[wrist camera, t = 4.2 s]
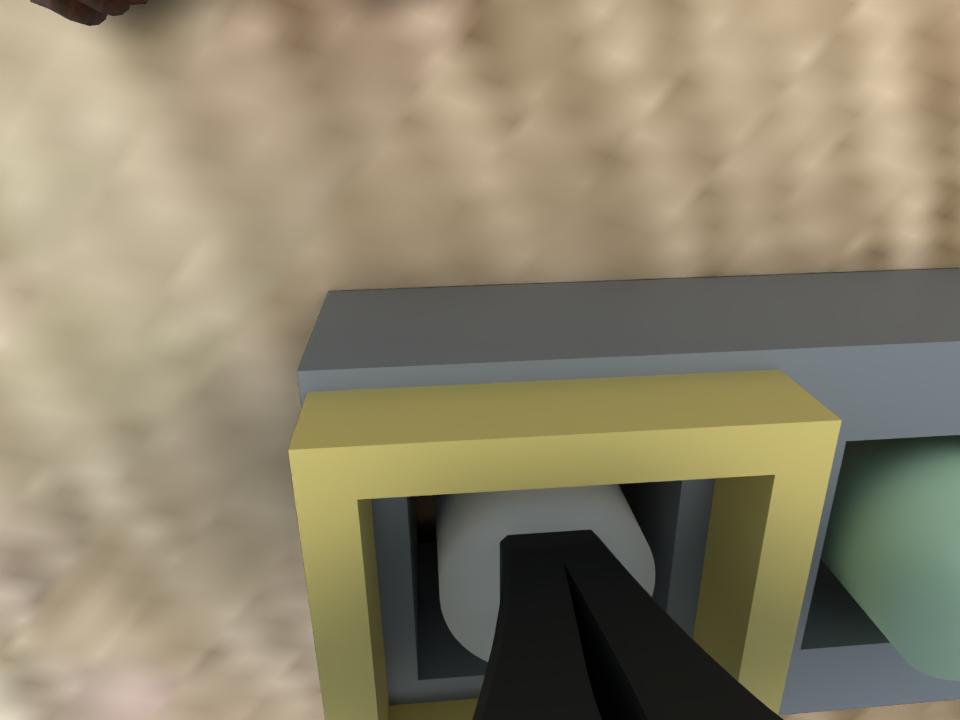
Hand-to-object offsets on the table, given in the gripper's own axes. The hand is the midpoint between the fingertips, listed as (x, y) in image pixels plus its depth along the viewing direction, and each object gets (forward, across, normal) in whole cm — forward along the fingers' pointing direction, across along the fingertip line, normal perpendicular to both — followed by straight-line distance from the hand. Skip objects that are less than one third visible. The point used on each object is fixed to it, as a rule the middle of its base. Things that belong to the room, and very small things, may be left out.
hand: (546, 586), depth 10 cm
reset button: (+3, 0, 0) cm, 3 cm away
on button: (+2, -6, 0) cm, 7 cm away
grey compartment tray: (+4, -3, 0) cm, 5 cm away
